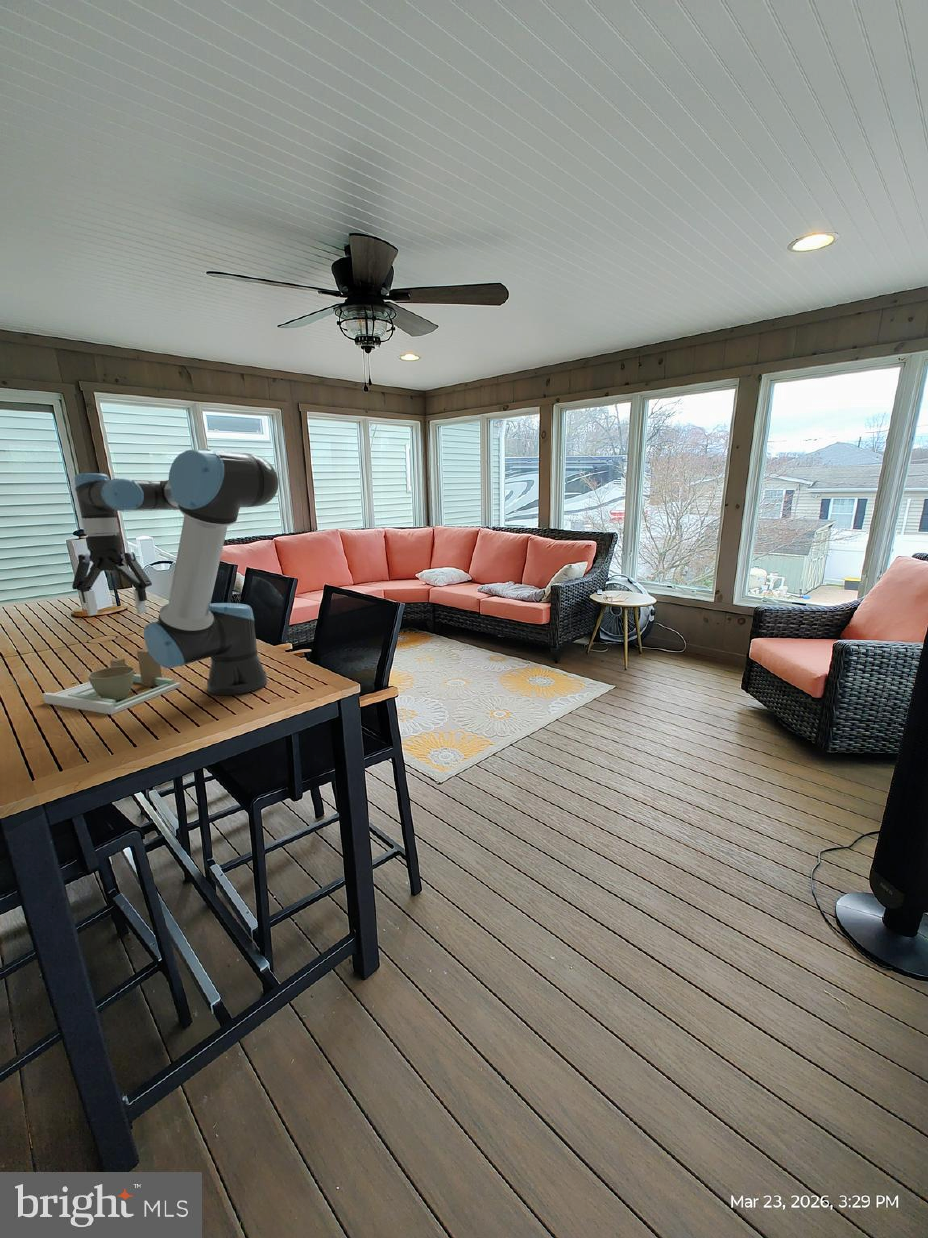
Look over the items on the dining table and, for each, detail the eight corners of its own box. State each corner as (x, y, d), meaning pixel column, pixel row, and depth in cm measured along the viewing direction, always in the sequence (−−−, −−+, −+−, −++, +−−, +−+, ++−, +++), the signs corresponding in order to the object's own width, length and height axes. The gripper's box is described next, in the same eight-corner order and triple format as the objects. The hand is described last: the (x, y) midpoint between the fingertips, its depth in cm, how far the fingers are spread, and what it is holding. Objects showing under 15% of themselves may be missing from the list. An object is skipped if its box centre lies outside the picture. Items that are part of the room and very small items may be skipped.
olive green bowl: (115, 706, 126) (111, 679, 125) (82, 704, 128) (77, 677, 127) (147, 692, 136) (143, 666, 134) (116, 689, 138) (111, 664, 136)
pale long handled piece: (129, 678, 146) (126, 658, 145) (61, 702, 129) (57, 680, 128) (119, 677, 148) (116, 657, 146) (51, 700, 130) (46, 678, 129)
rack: (181, 686, 140) (180, 677, 139) (111, 714, 122) (109, 704, 121) (114, 676, 148) (112, 668, 147) (39, 702, 130) (37, 693, 129)
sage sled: (178, 684, 141) (173, 650, 139) (112, 711, 123) (105, 672, 121) (138, 679, 146) (133, 645, 144) (69, 704, 128) (61, 666, 126)
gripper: (157, 532, 136) (170, 609, 140) (68, 535, 137) (83, 612, 141) (139, 533, 128) (153, 615, 133) (44, 537, 129) (62, 618, 134)
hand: (117, 614), depth 137 cm, fingers open, 13 cm apart
